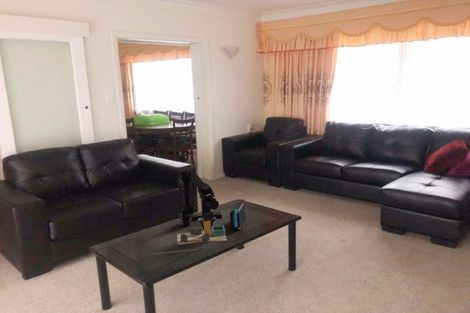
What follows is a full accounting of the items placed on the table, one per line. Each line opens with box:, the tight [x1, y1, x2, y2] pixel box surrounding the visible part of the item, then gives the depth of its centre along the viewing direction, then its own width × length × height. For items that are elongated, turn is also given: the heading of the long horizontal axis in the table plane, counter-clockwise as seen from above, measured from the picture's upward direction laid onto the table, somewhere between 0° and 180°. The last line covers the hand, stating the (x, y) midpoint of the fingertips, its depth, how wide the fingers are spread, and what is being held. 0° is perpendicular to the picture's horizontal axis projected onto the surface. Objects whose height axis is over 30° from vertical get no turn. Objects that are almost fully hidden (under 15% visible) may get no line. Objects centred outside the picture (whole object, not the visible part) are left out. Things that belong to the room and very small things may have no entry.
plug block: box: [203, 221, 212, 234], centre depth 230 cm, size 4×4×9 cm
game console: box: [229, 198, 247, 231], centre depth 250 cm, size 28×6×15 cm, turn 166°
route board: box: [176, 224, 228, 245], centre depth 230 cm, size 17×30×5 cm, turn 98°
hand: (207, 229), depth 230 cm, fingers closed on plug block, 4 cm apart
